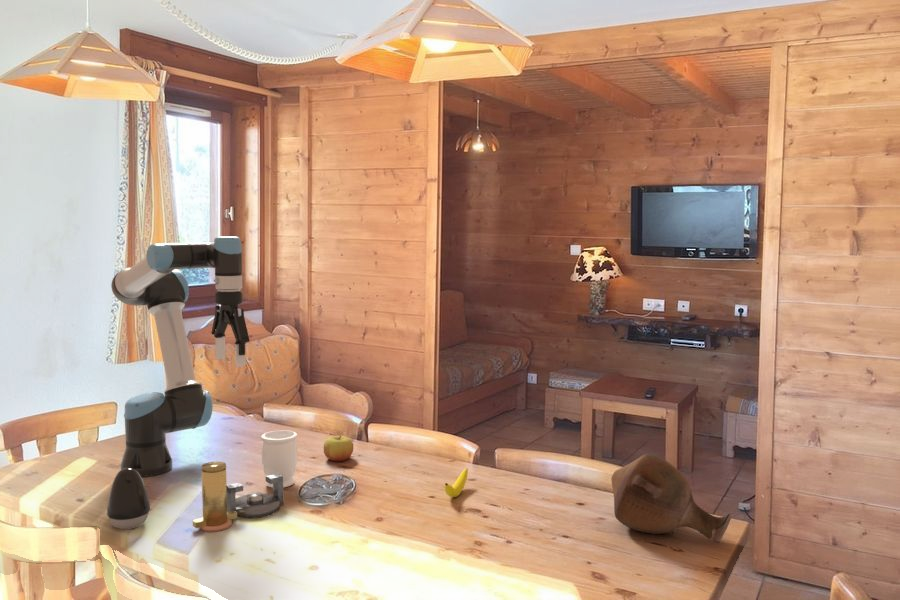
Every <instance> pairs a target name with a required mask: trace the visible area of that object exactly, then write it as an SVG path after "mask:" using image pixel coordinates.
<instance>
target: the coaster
mask: <svg viewBox="0 0 900 600" xmlns="http://www.w3.org/2000/svg"><path fill="white" fill-rule="evenodd" d="M232 520H233V519H231V520H227V523H225V524H223V525H220V526H204V527H200V528H199V529H200V530H201V531H202V532H207V533H213V532H214V533H215V532H222V531H225V530H227V529H229V528H231V526H232V525H233V522H232Z"/></svg>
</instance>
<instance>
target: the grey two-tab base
mask: <svg viewBox="0 0 900 600" xmlns="http://www.w3.org/2000/svg"><path fill="white" fill-rule="evenodd" d="M266 482H268V483H269V484H273V488H272V493H273V494H269V493H264V492H261V491H255V492H250V493H247V494H245V495H242V496H238V497H237V496H236V493H240V492H243V491H244V485H243V484H242V483H240V482H234V483H230V484H227V512H228V511H232V510H234V511H236V512H237V518H241V519H260V518H265V517H268V515H269V516H271V515H273V513H274V514H275V513H277V512H278V511H279V510H280V508H281V507H280V506H281V505H284V488H283V476H282V475H280V474H278V473H277V474H273V475H268V476H265V483H266Z"/></svg>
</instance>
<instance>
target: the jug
mask: <svg viewBox="0 0 900 600" xmlns="http://www.w3.org/2000/svg"><path fill="white" fill-rule="evenodd" d="M610 479H611V486H612V487H611V488H612V492H613V505H614V506H613V508H614V509H613V510H614V517H615V518H616V520H617V521H618V522H620V523H621V524H622V525H624V526H625V527H626V528H630V529H632V530H635V531H638V532H642V533H645V534H654V535H655V534H656V535H657V534H666V533H670V534H671V535H673V536H674V535H676V534H677V533H676V532H677V529H679V528H682V527H686V528H689V529H692V530H695V531H697V532H699V533H700V534H702V535H703V536H704V537H706V538H707V540H713V541H715V542H717V543H718V542H719V543H720V541H721V540H722V538H723V537H724V534H725V533H726V531H727V529H728V528H729V524H730V522H731V520H732V514H731V513H728V514H727V515H725V516H720V517H719V516H715V515H712V514H710V513H709V512H707V511H706V510H704V509H702V507H700V506H698V505H697V503H696V502H695V500H694V497H693V494H692V490H691V486H690V484H689V481H688V480H687V478H686V477H685V476H684V475H683V474H682V472H681V471H680V470H679V469H678V468H676V467H675V466H674V465H673V464H672V463H670V462H668V461H667V459H664V458H663V457H661V456H659V455H656V454H654V453H644V454H642V455H641V456H640V457H638V458H636V459H635V460H633V461H632V462H630V463H627V464H626V465H624V466H622V467H620V468H618V469H616V470H615V471H614V472H613V473H612V474H611V478H610Z"/></svg>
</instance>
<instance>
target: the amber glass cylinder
mask: <svg viewBox="0 0 900 600" xmlns="http://www.w3.org/2000/svg"><path fill="white" fill-rule="evenodd" d="M227 482H228V481H227V463H226V462H224V461H210V462H206V463H203V464H201V491H202V492H201V495H202V496H201V497H202V517H201V518H197V519H193V520H192V527H194V528H195V529H200V527H204V526H220V525H223V524H225V523H227V520H234V519H238V517H237V512H236V511H234V510H232V511H228V512H227V485H228V483H227Z"/></svg>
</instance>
